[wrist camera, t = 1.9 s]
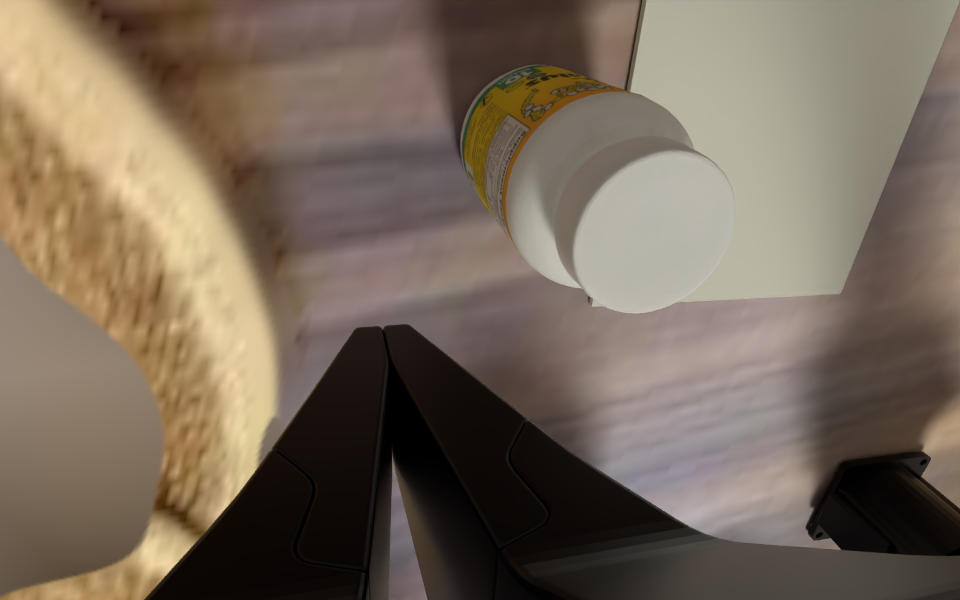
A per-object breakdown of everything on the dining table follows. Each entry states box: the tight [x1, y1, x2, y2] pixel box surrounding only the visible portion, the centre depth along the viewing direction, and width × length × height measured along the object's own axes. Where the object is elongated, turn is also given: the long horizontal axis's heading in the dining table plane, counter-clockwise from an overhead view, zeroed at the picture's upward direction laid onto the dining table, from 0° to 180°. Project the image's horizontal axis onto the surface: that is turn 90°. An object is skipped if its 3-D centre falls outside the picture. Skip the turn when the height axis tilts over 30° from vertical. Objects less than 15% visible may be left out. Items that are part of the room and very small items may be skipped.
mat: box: [589, 0, 960, 307], centre depth 23 cm, size 13×14×1 cm
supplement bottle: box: [460, 64, 736, 313], centre depth 17 cm, size 5×5×10 cm
